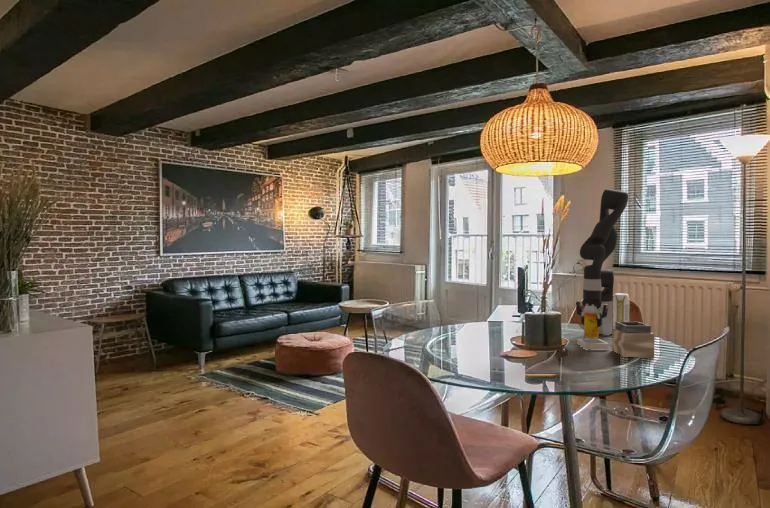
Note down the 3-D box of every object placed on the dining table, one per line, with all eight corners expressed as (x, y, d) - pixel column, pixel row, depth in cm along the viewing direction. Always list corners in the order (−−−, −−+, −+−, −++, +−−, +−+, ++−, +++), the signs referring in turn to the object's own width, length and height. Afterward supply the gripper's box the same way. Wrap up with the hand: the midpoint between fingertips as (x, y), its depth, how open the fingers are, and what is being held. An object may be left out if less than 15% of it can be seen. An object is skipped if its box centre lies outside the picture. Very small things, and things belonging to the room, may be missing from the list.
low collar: (577, 345, 223) (577, 338, 223) (599, 345, 223) (599, 338, 223) (585, 350, 213) (585, 343, 213) (608, 350, 213) (608, 343, 213)
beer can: (594, 340, 214) (594, 306, 213) (581, 337, 219) (581, 305, 218) (601, 338, 218) (601, 305, 217) (588, 335, 222) (588, 303, 222)
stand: (611, 350, 212) (612, 321, 211) (639, 350, 211) (639, 321, 211) (624, 357, 200) (625, 326, 199) (654, 357, 199) (654, 326, 199)
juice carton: (629, 328, 261) (629, 293, 260) (627, 331, 253) (628, 295, 253) (614, 327, 265) (614, 292, 264) (612, 330, 257) (612, 294, 257)
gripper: (572, 288, 220) (572, 324, 221) (604, 290, 209) (604, 329, 210) (580, 286, 225) (579, 322, 226) (611, 289, 214) (611, 326, 215)
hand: (591, 325), depth 218 cm, fingers closed on beer can, 6 cm apart
